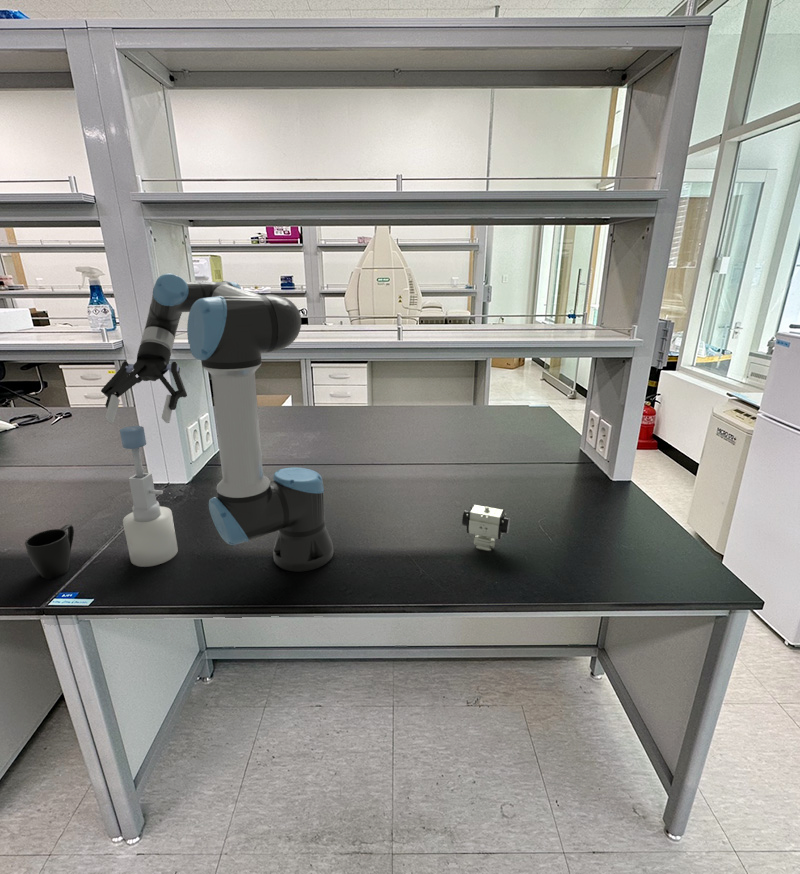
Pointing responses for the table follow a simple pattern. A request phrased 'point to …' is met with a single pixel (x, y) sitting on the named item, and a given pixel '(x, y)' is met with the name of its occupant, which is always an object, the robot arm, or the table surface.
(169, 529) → the bottle
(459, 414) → the table surface
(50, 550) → the mug
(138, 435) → the plunger
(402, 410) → the table surface
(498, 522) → the pneumatic valve
